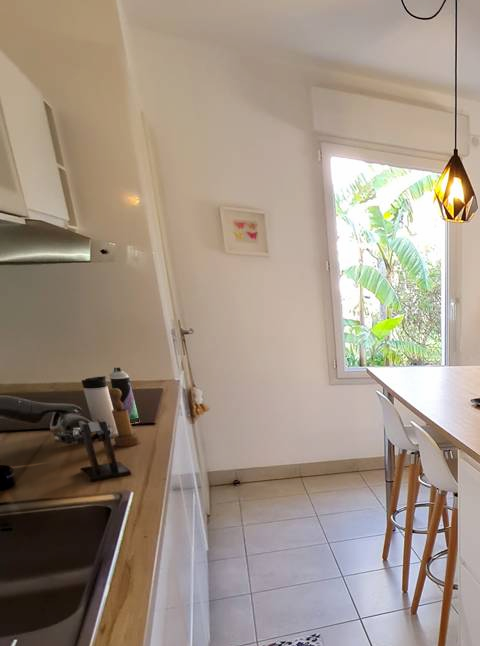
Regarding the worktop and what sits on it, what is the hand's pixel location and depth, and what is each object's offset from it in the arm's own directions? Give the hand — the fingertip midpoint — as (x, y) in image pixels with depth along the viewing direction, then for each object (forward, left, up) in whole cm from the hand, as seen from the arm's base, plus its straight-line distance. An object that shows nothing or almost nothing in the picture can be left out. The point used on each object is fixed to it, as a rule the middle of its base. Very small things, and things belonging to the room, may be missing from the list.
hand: (91, 439), depth 153 cm
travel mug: (+10, +35, -8) cm, 37 cm away
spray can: (+20, +51, -8) cm, 55 cm away
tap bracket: (0, -7, -8) cm, 11 cm away
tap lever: (0, -3, +1) cm, 3 cm away
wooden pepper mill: (+12, +21, -8) cm, 25 cm away
